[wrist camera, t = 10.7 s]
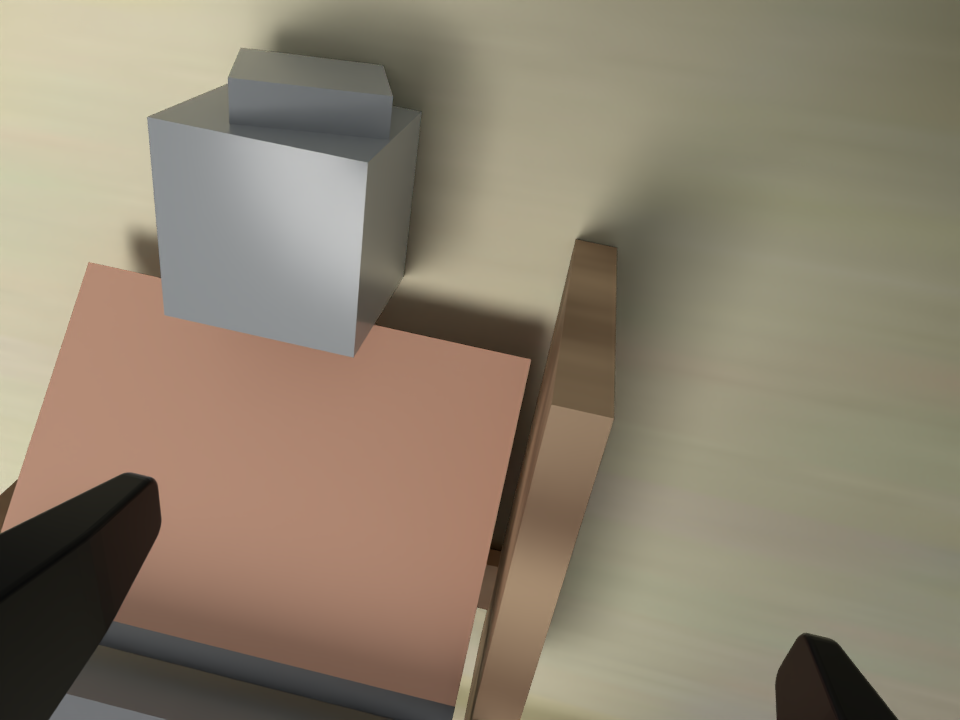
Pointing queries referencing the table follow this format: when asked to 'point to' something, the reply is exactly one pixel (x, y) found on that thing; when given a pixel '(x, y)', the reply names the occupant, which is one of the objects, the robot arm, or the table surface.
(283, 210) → the slate block
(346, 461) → the trapdoor
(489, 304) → the table surface
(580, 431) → the frame
